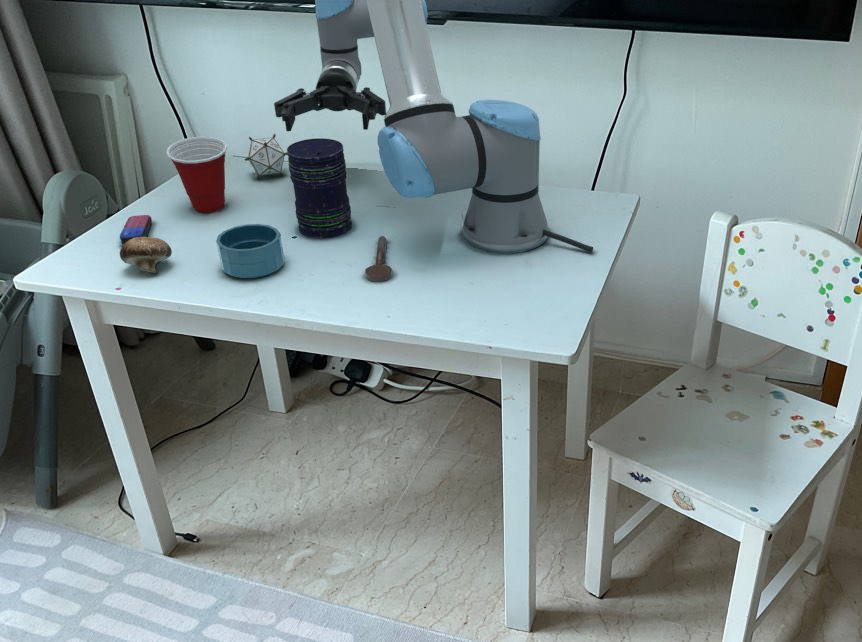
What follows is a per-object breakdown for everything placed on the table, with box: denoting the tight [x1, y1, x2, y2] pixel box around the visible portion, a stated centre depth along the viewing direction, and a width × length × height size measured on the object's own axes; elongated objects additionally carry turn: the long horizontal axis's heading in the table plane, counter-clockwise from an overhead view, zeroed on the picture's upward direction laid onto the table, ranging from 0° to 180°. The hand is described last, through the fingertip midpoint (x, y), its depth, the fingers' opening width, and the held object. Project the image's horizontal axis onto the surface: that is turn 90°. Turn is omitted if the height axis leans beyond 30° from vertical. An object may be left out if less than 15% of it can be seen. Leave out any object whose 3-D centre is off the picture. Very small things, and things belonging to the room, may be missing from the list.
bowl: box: [215, 223, 285, 279], centre depth 150 cm, size 10×10×6 cm
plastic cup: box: [165, 136, 228, 214], centre depth 168 cm, size 11×11×12 cm
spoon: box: [364, 235, 393, 283], centre depth 153 cm, size 15×4×1 cm, turn 4°
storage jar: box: [286, 137, 353, 240], centre depth 160 cm, size 10×10×15 cm
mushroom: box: [119, 236, 173, 274], centre depth 149 cm, size 8×8×6 cm
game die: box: [244, 133, 288, 181], centre depth 182 cm, size 9×8×10 cm
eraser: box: [119, 214, 153, 246], centre depth 161 cm, size 11×4×2 cm, turn 9°
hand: (326, 123), depth 159 cm, fingers open, 13 cm apart
